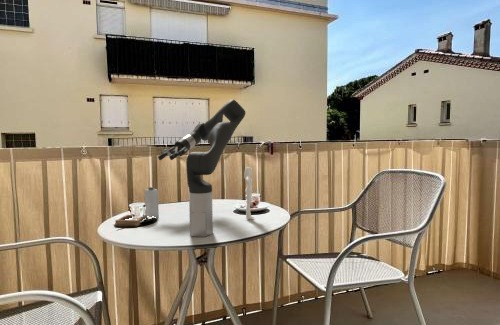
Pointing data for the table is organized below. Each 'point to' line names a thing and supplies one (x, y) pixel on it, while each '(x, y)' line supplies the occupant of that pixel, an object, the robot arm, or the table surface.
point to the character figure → (248, 190)
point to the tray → (129, 221)
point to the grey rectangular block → (151, 202)
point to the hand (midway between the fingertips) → (164, 158)
